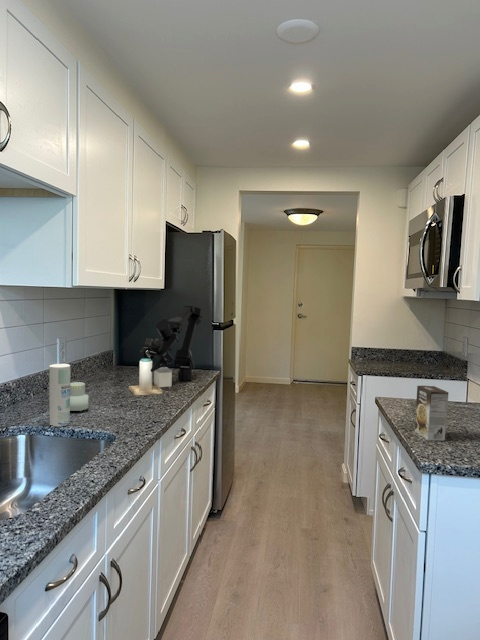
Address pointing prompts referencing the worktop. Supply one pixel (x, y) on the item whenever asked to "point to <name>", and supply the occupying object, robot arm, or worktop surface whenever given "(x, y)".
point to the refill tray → (136, 391)
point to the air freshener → (78, 397)
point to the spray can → (59, 394)
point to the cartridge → (145, 375)
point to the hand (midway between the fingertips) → (145, 369)
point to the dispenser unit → (163, 377)
